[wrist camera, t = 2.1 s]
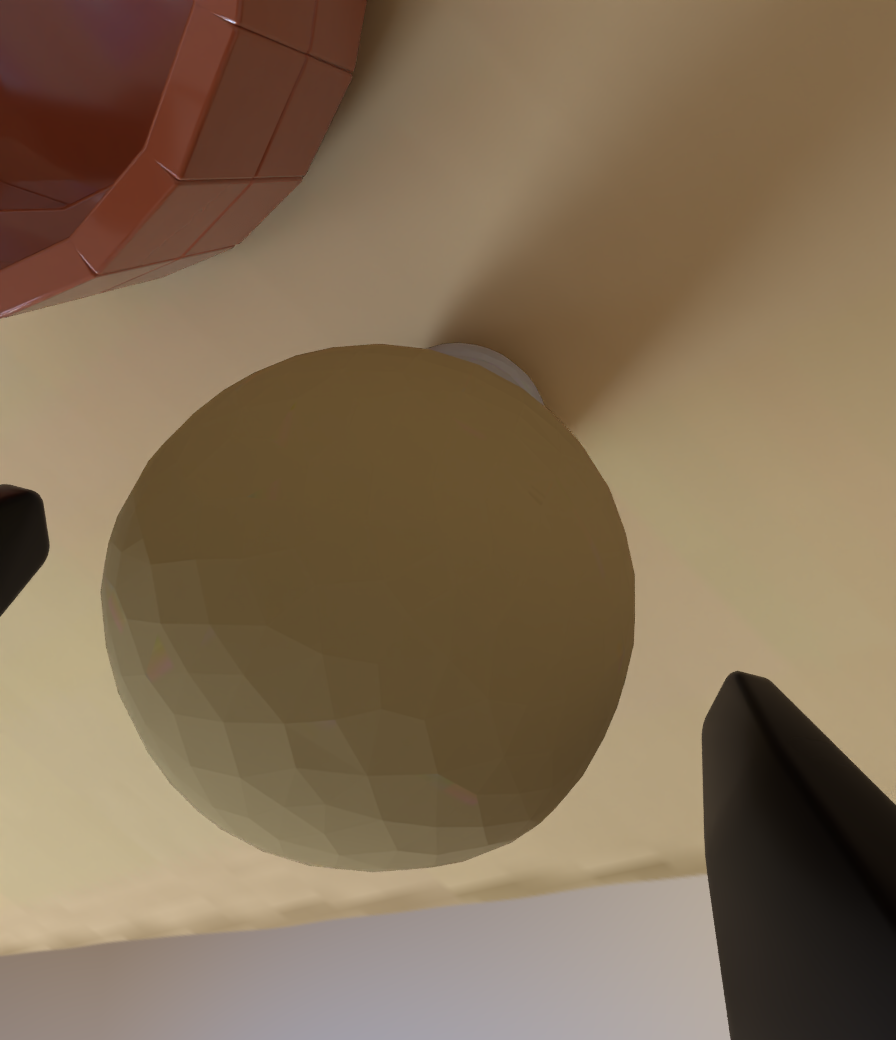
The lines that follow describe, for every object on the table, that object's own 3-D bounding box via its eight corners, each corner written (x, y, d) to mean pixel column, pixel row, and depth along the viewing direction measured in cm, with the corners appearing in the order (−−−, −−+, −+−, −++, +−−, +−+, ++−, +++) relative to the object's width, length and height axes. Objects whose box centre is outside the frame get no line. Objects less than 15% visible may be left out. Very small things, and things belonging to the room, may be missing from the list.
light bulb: (293, 295, 14) (-188, 503, 5) (601, 241, 12) (642, 412, 4) (363, 553, 17) (126, 969, 8) (622, 535, 15) (673, 1027, 6)
